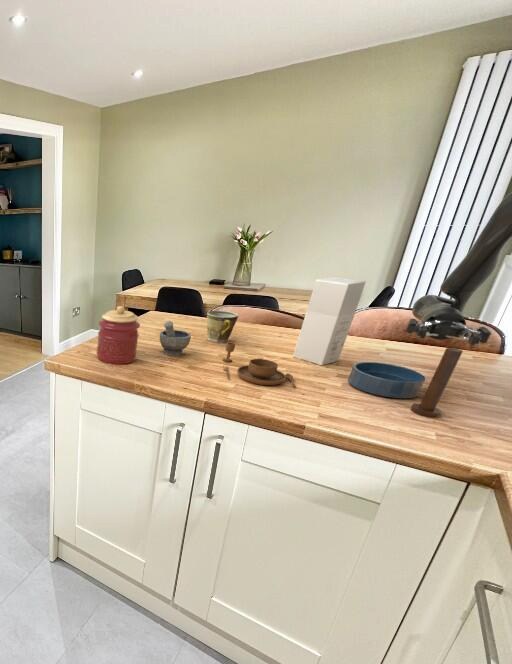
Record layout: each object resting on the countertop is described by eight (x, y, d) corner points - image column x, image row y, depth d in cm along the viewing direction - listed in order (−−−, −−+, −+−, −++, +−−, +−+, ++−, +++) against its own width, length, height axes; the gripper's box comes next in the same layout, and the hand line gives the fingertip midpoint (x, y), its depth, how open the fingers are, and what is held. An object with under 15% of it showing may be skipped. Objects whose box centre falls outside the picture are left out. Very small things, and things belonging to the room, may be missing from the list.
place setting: (227, 382, 114) (231, 363, 111) (220, 358, 131) (223, 341, 128) (299, 390, 108) (306, 370, 105) (282, 364, 125) (287, 346, 122)
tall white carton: (309, 352, 133) (333, 276, 123) (338, 360, 126) (366, 281, 116) (292, 356, 130) (315, 279, 120) (321, 365, 123) (348, 284, 112)
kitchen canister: (121, 368, 126) (127, 313, 119) (88, 357, 135) (91, 306, 128) (143, 357, 134) (150, 305, 126) (110, 348, 143) (115, 299, 135)
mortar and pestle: (167, 346, 143) (172, 313, 138) (192, 353, 136) (199, 319, 131) (149, 353, 137) (153, 319, 132) (174, 361, 130) (180, 325, 125)
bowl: (415, 386, 108) (423, 369, 106) (418, 405, 98) (427, 387, 96) (348, 374, 117) (354, 358, 114) (345, 390, 107) (351, 373, 105)
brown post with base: (438, 411, 95) (469, 348, 89) (440, 419, 92) (472, 355, 85) (409, 405, 98) (437, 344, 92) (410, 413, 95) (439, 350, 88)
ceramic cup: (198, 335, 153) (203, 310, 149) (226, 336, 152) (232, 310, 147) (210, 346, 141) (215, 319, 137) (240, 347, 140) (246, 319, 136)
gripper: (411, 304, 110) (414, 317, 99) (488, 312, 101) (500, 327, 90) (401, 330, 113) (402, 346, 102) (474, 340, 104) (484, 358, 93)
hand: (448, 337), depth 96 cm, fingers open, 8 cm apart
